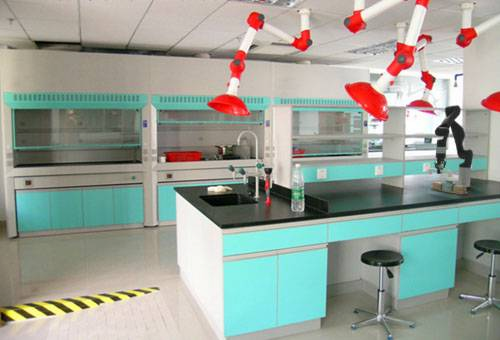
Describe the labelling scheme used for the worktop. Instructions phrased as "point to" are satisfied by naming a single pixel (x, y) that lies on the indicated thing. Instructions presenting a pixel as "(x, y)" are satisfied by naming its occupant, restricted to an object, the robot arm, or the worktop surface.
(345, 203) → the worktop surface
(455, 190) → the display stand
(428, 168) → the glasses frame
